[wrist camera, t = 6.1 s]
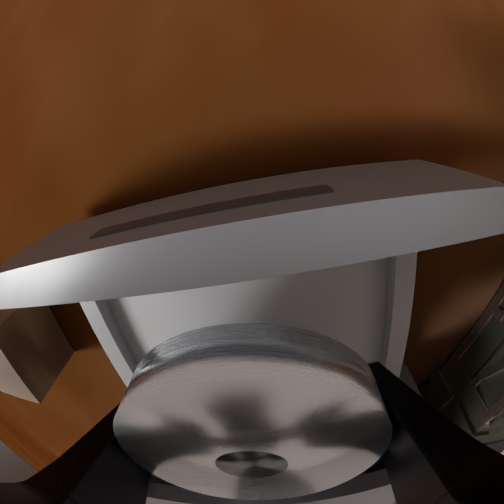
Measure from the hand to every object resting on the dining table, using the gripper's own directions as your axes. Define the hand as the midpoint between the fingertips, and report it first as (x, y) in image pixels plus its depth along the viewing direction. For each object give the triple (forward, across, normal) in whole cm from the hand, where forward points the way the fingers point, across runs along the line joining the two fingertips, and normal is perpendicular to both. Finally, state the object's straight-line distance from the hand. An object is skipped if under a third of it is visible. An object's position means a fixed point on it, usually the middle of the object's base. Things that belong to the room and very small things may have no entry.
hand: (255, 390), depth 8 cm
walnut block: (+3, +12, -1) cm, 12 cm away
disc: (-1, 0, 0) cm, 1 cm away
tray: (+2, 0, 0) cm, 2 cm away
